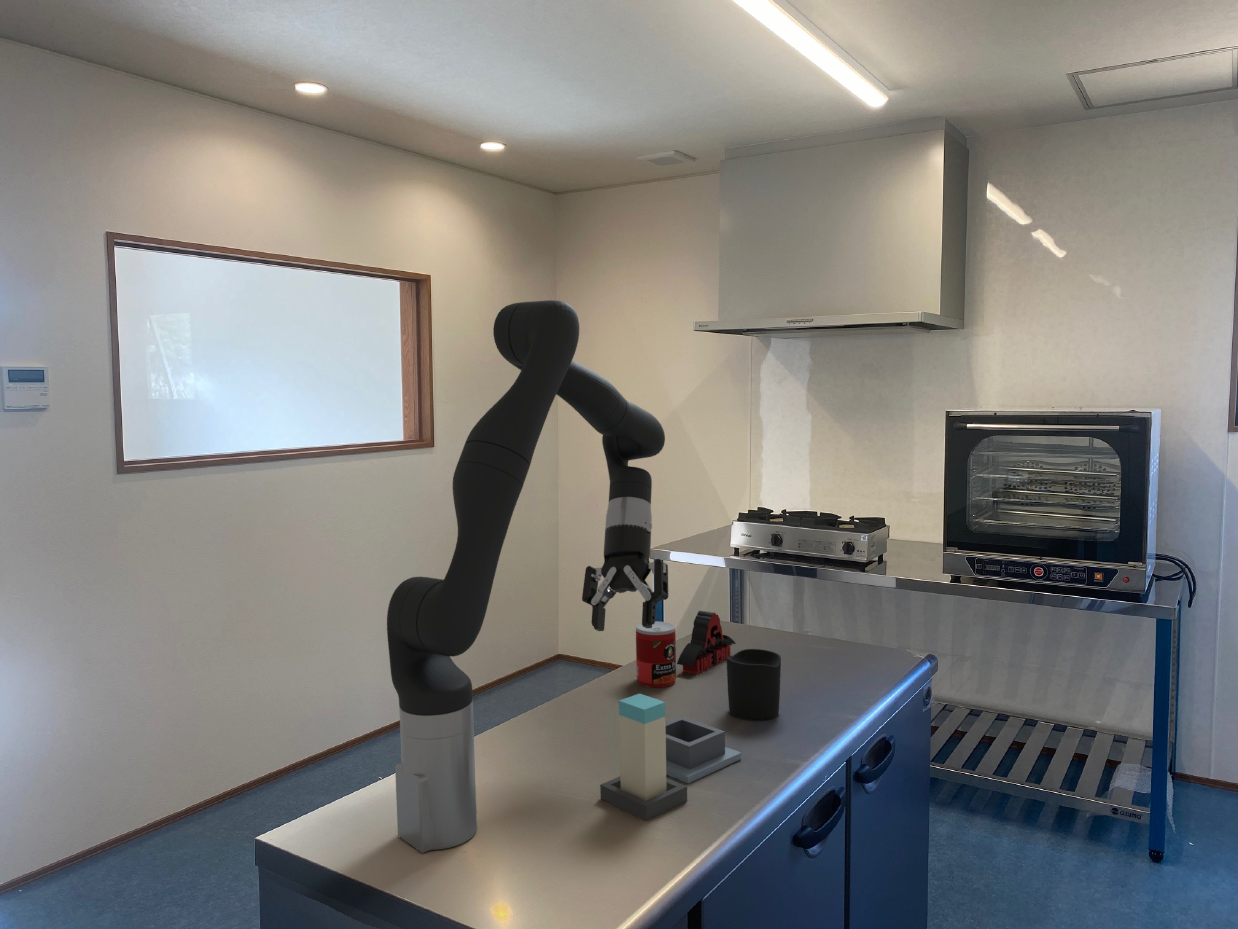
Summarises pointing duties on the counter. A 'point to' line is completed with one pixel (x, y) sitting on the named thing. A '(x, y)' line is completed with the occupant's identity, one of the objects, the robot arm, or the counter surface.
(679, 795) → the gray square frame
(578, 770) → the counter surface
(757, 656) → the pen holder
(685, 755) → the port
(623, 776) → the plug
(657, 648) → the canned food
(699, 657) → the logo sign
